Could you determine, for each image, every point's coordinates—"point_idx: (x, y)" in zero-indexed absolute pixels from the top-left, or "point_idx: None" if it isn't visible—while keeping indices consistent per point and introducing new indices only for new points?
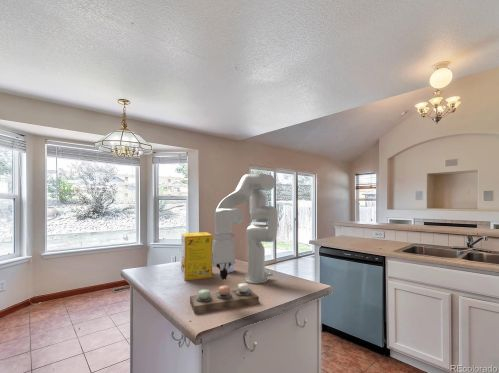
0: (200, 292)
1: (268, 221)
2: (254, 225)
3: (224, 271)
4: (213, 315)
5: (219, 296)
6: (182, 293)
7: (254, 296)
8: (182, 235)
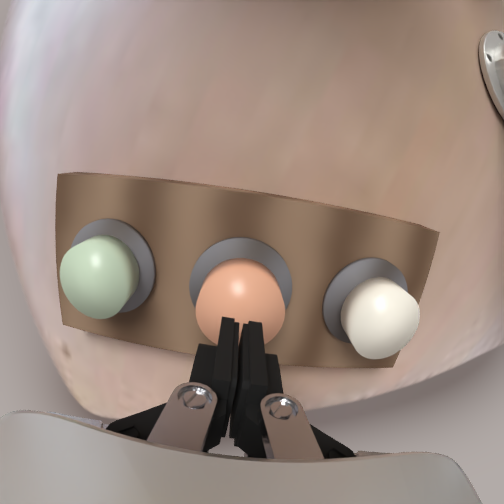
0: (69, 289)
1: None
2: None
3: (230, 428)
4: (146, 362)
5: None
6: (96, 20)
7: (379, 361)
8: None
